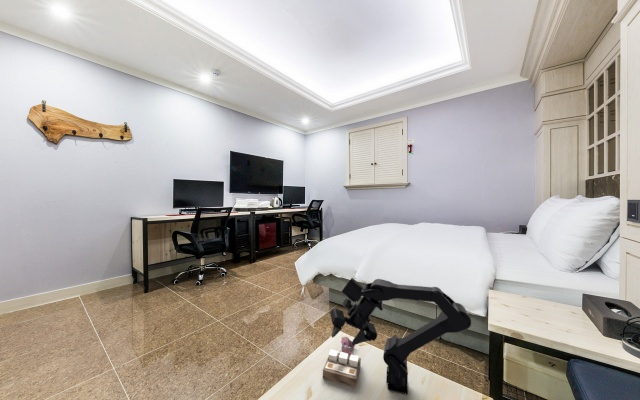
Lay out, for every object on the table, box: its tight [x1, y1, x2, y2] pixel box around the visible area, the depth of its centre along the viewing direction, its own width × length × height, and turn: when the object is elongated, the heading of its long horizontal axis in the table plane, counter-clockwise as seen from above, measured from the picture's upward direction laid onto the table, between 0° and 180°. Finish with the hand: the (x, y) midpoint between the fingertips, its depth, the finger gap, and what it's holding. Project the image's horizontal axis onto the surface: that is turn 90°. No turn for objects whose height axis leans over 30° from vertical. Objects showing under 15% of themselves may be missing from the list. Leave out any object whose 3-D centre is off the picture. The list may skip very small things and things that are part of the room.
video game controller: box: [340, 336, 356, 356], centre depth 94 cm, size 10×5×7 cm, turn 175°
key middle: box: [339, 351, 348, 365], centre depth 86 cm, size 3×3×2 cm
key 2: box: [349, 354, 360, 368], centre depth 85 cm, size 3×3×2 cm
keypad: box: [322, 352, 362, 389], centre depth 84 cm, size 12×11×3 cm
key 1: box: [328, 349, 339, 362], centre depth 87 cm, size 3×3×2 cm
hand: (342, 340), depth 86 cm, fingers open, 9 cm apart
